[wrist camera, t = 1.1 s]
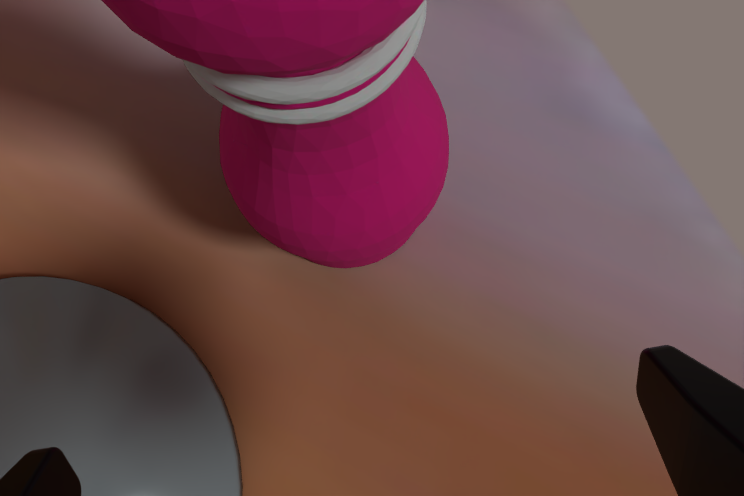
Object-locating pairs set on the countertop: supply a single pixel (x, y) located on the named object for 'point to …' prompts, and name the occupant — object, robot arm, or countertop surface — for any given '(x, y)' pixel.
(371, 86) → the pepper mill
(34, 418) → the disc
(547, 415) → the countertop surface
